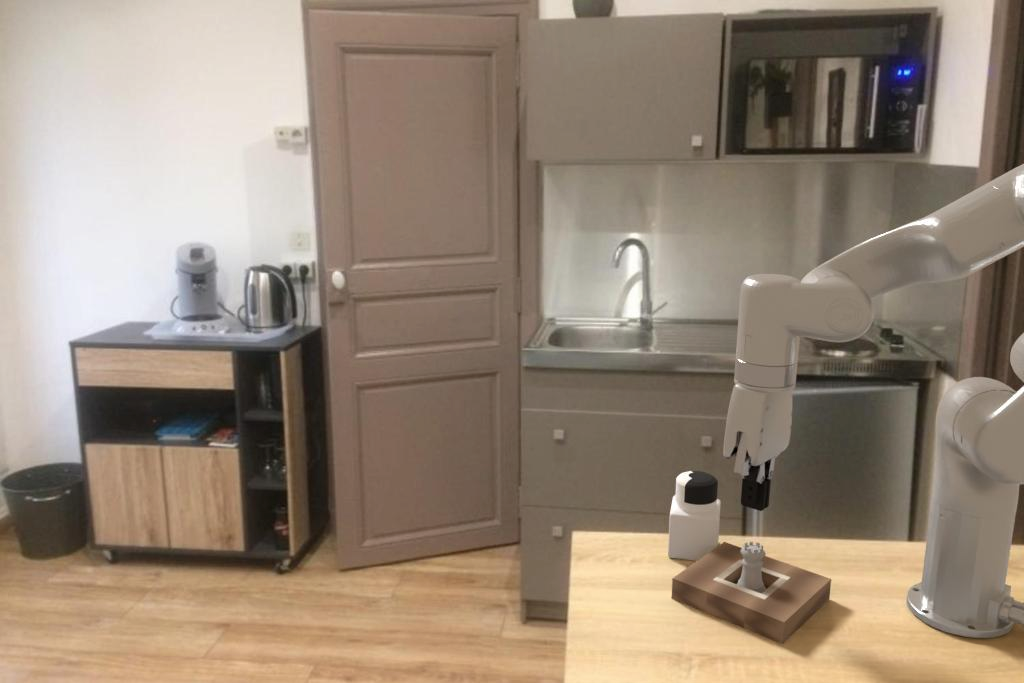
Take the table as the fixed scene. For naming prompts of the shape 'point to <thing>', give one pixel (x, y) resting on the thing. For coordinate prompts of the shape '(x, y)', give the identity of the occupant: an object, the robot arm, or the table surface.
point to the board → (752, 592)
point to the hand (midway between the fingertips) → (754, 506)
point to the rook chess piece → (752, 567)
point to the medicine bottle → (694, 516)
